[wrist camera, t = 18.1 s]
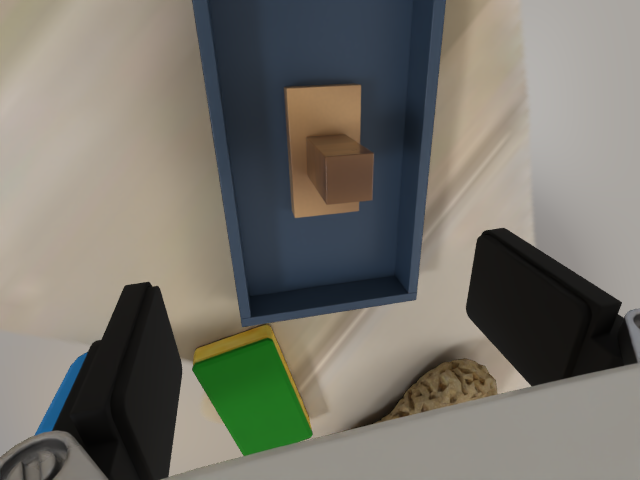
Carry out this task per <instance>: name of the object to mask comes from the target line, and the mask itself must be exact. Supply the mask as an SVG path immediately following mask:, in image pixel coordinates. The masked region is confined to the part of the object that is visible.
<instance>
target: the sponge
mask: <svg viewBox="0 0 640 480" xmlns="http://www.w3.org/2000/svg"><path fill="white" fill-rule="evenodd" d="M493 395H497V386H496V380H495V379H494V378H493V377H492V376H491V375H490V374H489V372H488V371H487V369H486V367H485V366H483V365H480V364H478V363H476V362H475V361H472V360H468V359H459V360H453V361H451V362H444V363H442V364H440V365H439V366H437V367H436V368H434V369H432V370H430V371H429V372H427V373H426V374H425V375H423V376H422V377H420V379H419V380H418V381H417V383H416V384H413V385H412V386H411V388H409V389H408V390H407V391H406V392H405V394H404V396H403V398H402V399H400V401H399V402H398V404H397V405H396V407H395V408H394V409H393V411H392V412H391V413H390V414H389V415H387V416H385V417H383V418H382V419H381V421H377V422H376V423H380V422H384V421H388V420H392V419H396V418H401V417H405V416H409V415H413V414H417V413H422V412H426V411H430V410H434V409H438V408H442V407H447V406H451V405H455V404H459V403H464V402H468V401H472V400H476V399H480V398H485V397H489V396H493ZM376 423H374V424H376Z"/></svg>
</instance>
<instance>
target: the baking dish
mask: <svg viewBox="0 0 640 480" xmlns="http://www.w3.org/2000/svg"><path fill="white" fill-rule="evenodd" d="M192 3H193V10H194V16H195V23H196V29H197V36H198V42H199V49H200V55H201V62H202V69H203V75H204V82H205V88H206V95H207V101H208V108H209V114H210V121H211V127H212V134H213V140H214V147H215V154H216V160H217V167H218V173H219V180H220V186H221V193H222V199H223V206H224V212H225V219H226V225H227V232H228V239H229V245H230V252H231V258H232V265H233V271H234V278H235V284H236V291H237V297H238V304H239V310H240V317H241V324H242V327H247V326H253V325H259V324H266V323H272V322H279V321H285V320H291V319H298V318H304V317H310V316H317V315H323V314H329V313H336V312H342V311H349V310H355V309H361V308H368V307H374V306H380V305H387V304H393V303H399V302H406V301H412V300H416V296H417V286H418V276H419V265H420V255H421V245H422V235H423V225H424V215H425V205H426V195H427V185H428V175H429V165H430V155H431V145H432V135H433V125H434V115H435V105H436V95H437V85H438V74H439V64H440V54H441V44H442V34H443V24H444V14H445V4H446V0H192ZM334 84H359V85H361V124H360V144H361V145H362V146H364V147H365V148H367V149H368V150H370V151H371V152H373V153H374V170H373V199H372V200H370V201H360V202H359V211H355V212H346V213H337V214H328V215H318V216H309V217H300V218H295V217H294V215H293V212H292V205H291V190H290V175H289V160H288V145H287V130H286V114H285V99H284V87H291V86H312V85H334Z"/></svg>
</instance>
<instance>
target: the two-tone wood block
mask: <svg viewBox="0 0 640 480" xmlns="http://www.w3.org/2000/svg"><path fill="white" fill-rule="evenodd" d="M284 99H285V114H286V130H287V145H288V160H289V175H290V190H291V205H292V212H293V215H294V217H295V218H300V217H309V216H318V215H328V214H337V213H346V212H355V211H359V202H360V201H370V200H372V199H373V170H374V153H373V152H371V151H370V150H368V149H367V148H365V147H364V146H362V145H361V144H360V124H361V85H359V84H334V85H312V86H291V87H284Z"/></svg>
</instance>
